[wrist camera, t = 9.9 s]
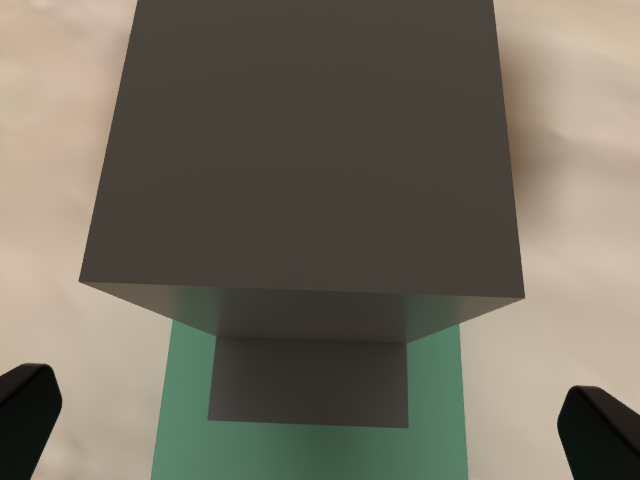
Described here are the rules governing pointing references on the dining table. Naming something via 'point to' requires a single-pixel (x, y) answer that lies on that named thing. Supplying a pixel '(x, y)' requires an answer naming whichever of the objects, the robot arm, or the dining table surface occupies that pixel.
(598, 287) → the dining table surface
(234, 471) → the board
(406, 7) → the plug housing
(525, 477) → the dining table surface
